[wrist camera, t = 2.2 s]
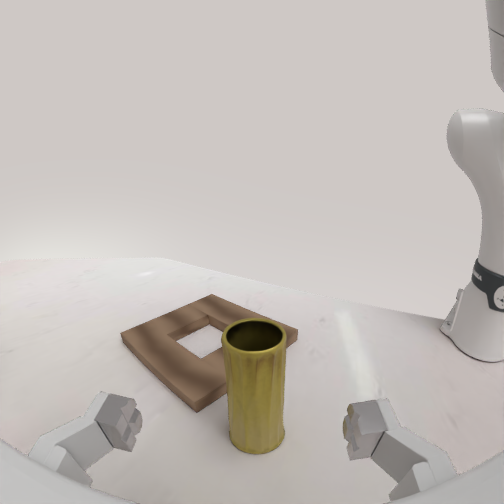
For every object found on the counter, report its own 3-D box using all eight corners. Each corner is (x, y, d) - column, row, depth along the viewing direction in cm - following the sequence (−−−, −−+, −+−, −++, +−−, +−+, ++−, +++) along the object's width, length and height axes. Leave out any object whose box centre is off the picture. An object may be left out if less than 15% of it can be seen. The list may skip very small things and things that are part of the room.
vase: (256, 406, 30) (252, 308, 26) (295, 431, 26) (307, 330, 22) (218, 433, 26) (200, 334, 22) (258, 464, 22) (255, 368, 18)
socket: (212, 302, 58) (211, 294, 57) (297, 339, 44) (297, 329, 43) (123, 342, 43) (120, 332, 42) (196, 412, 29) (194, 402, 29)
